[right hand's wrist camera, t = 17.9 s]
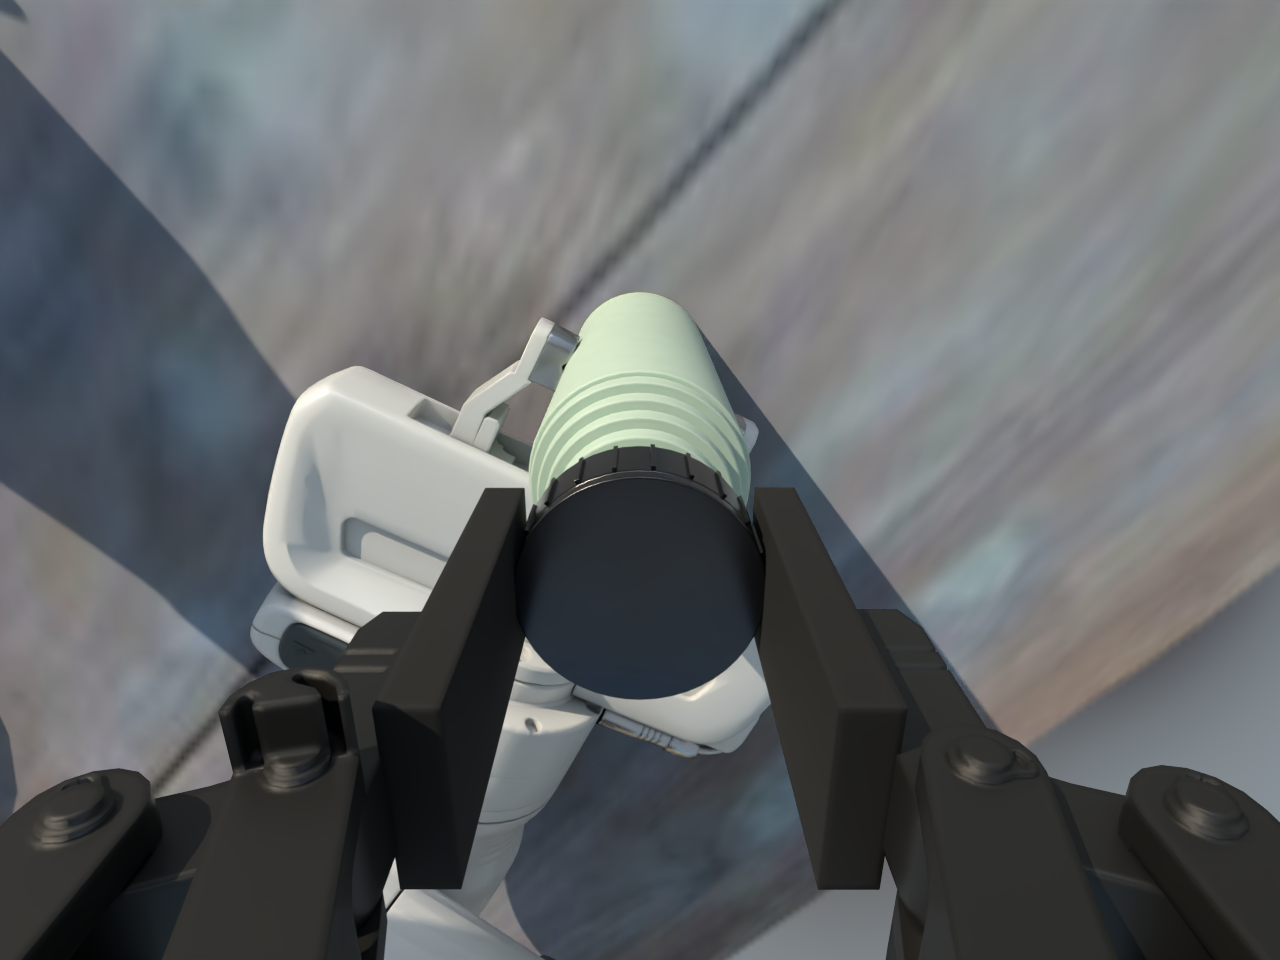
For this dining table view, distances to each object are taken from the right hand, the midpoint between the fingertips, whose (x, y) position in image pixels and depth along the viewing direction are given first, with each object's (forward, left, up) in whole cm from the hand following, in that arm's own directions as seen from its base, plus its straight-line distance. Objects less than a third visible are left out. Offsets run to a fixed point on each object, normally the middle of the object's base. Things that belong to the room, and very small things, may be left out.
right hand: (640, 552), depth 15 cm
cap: (0, 0, +1) cm, 1 cm away
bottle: (0, 0, -18) cm, 18 cm away
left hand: (0, -1, -12) cm, 12 cm away
